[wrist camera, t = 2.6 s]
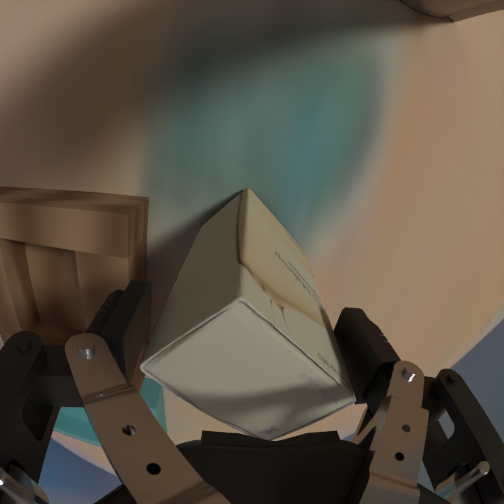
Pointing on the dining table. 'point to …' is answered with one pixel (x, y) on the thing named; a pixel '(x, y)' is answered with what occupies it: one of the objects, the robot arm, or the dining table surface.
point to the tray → (79, 426)
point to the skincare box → (249, 329)
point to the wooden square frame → (67, 259)
